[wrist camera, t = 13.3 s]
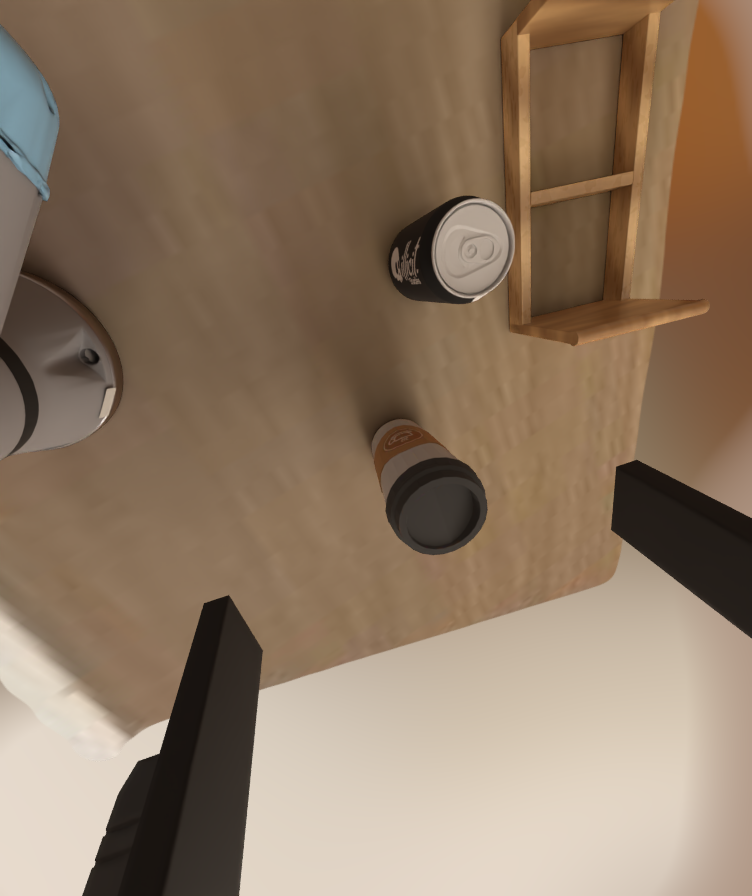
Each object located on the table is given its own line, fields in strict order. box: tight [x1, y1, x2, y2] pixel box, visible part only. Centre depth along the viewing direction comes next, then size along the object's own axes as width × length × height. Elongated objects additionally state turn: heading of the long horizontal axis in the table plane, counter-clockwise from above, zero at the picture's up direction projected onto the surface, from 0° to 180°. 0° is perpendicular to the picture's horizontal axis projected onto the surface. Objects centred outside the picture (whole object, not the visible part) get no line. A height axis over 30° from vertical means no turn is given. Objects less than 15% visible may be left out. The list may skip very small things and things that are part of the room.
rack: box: [501, 0, 710, 346], centre depth 29 cm, size 23×12×11 cm, turn 11°
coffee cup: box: [372, 419, 487, 555], centre depth 34 cm, size 8×8×15 cm
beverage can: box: [388, 196, 515, 304], centre depth 28 cm, size 7×7×12 cm
